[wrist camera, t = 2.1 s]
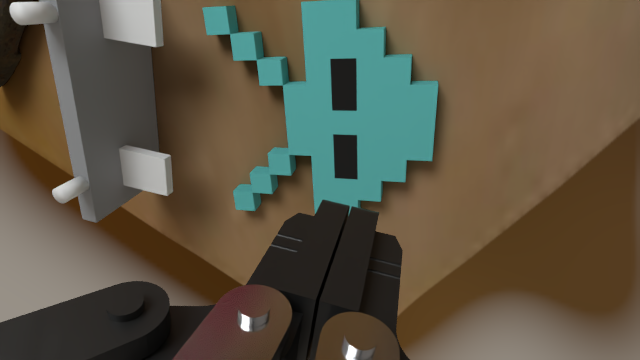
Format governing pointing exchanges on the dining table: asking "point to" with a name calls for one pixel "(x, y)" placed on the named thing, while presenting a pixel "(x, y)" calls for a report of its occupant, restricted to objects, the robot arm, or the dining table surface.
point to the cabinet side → (105, 97)
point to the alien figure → (338, 106)
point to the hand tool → (9, 41)
